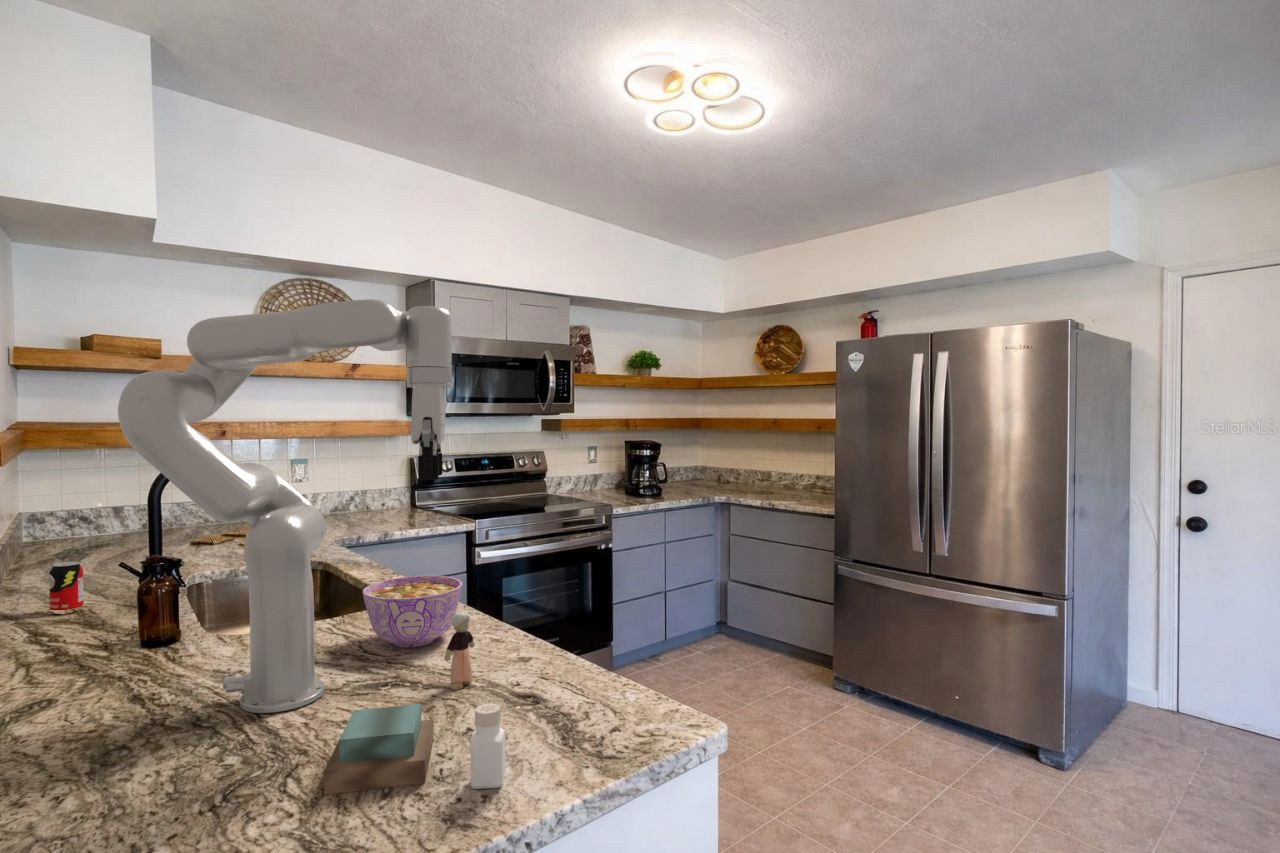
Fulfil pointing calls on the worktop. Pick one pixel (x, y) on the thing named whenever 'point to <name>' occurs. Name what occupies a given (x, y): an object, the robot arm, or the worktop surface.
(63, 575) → the beverage can
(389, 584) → the bowl of food
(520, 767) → the worktop surface
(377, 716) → the square push button
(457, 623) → the grandmother figurine
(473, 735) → the pepper shaker
